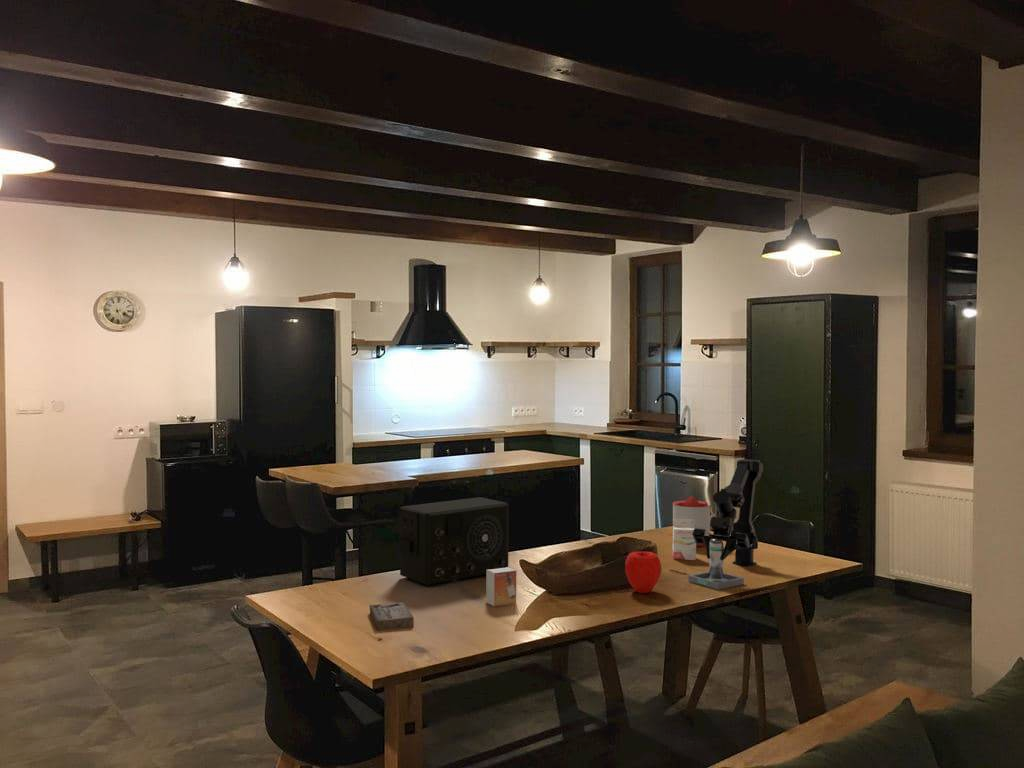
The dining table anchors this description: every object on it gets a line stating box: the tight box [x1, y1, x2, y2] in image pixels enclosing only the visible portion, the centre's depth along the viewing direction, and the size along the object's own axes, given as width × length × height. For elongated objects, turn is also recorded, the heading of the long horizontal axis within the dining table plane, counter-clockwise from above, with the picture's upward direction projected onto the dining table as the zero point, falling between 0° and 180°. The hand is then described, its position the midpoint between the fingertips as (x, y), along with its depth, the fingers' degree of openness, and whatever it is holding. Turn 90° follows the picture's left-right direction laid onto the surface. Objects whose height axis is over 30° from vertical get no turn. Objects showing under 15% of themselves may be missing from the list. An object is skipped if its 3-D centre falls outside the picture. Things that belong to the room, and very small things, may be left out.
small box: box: [485, 566, 517, 607], centre depth 270 cm, size 8×6×10 cm
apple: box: [624, 550, 662, 594], centre depth 284 cm, size 12×12×13 cm
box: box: [369, 601, 415, 631], centre depth 252 cm, size 11×17×3 cm, turn 16°
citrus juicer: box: [672, 495, 716, 547], centre depth 357 cm, size 16×17×20 cm
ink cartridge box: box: [671, 519, 697, 561], centre depth 331 cm, size 9×5×15 cm, turn 84°
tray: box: [687, 571, 745, 591], centre depth 295 cm, size 13×13×2 cm
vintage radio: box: [398, 496, 509, 587], centre depth 303 cm, size 38×20×25 cm, turn 128°
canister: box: [708, 538, 724, 579], centre depth 295 cm, size 5×5×13 cm
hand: (714, 559), depth 294 cm, fingers closed on canister, 4 cm apart
